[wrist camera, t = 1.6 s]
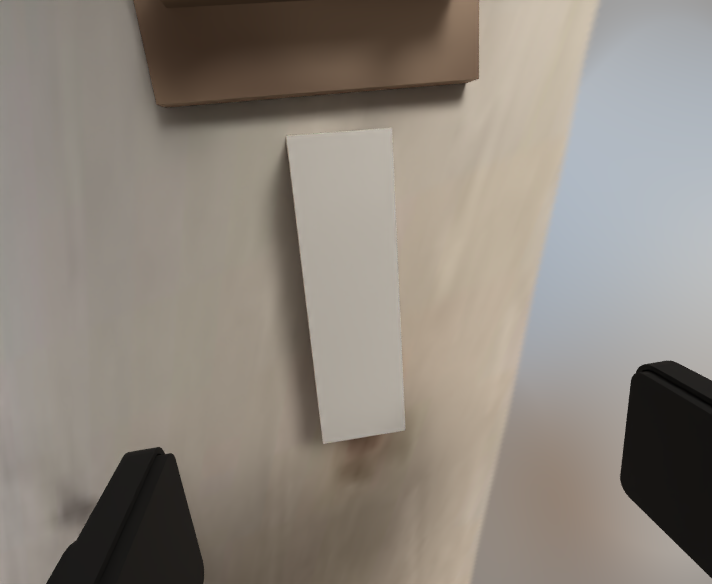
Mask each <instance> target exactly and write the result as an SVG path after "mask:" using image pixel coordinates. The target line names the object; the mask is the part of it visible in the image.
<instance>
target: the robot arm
mask: <svg viewBox="0 0 712 584" xmlns="http://www.w3.org/2000/svg"><path fill="white" fill-rule="evenodd" d="M620 475H621V476H620V480H621V484H622V487H623V489H624V491H625V493H626V494H627V495H628V496H629V498H630V499H632V501H634V502H635V503H636V504H637V505H638V506H639V507H640V508H641V509H642V510H643V511H644V512H645V513H646V514H647V515H648V516H649V517H650V518H651V519H652V520H653V521H654V522H655V523H656V524H657V525H658V526H659V527H660V528H661V529H662V530H663V531H664V532H665V533H666V534H667V535H668V536H669V537H670V538H671V539H672V540H673V541H674V542H675V543H676V544H677V545H678V546H679V547H680V548H681V549H682V550H683V551H684V552H686V553H687V554H688V556H690V557H691V558H692V559H693V560H694V561H695V562H696V563H697V564H698V565H699V566H700V567H701V568H702V569H703V570H704V571H705V572H706V573H707V574H708V575H709V576H710V577H711V578H712V381H711V380H709V379H708V378H706V377H703V376H702V375H700V374H698V373H696V372H694V371H692V370H690V369H688V368H686V367H684V366H682V365H680V364H678V363H676V362H674V361H662V362H656V363H651V364H644V365H642V366H640V367H639V368H638V369H637V371H636V374H634V375H633V377H632V379H631V386H630V395H629V403H628V413H627V421H626V431H625V439H624V448H623V457H622V466H621V474H620ZM203 582H204V566H203V560H202V557H201V553H200V549H199V545H198V542H197V538H196V534H195V530H194V527H193V523H192V519H191V515H190V512H189V508H188V504H187V500H186V497H185V493H184V489H183V485H182V482H181V478H180V474H179V470H178V467H177V463H176V459H175V457H174V455H173V454H172V453H169V454H165V453H164V451H163V450H162V448H160V447H157V448H151V449H145V450H139V451H133V452H128V453H126V454H125V455H124V456H123V458H122V460H121V461H120V463H119V465H118V467H117V469H116V470H115V472H114V474H113V476H112V478H111V479H110V481H109V483H108V485H107V487H106V488H105V490H104V492H103V494H102V496H101V497H100V499H99V501H98V503H97V505H96V506H95V508H94V510H93V512H92V514H91V515H90V517H89V519H88V521H87V523H86V524H85V526H84V528H83V530H82V532H81V533H80V535H79V537H78V539H77V541H75V542H74V543H72V544H71V545H69V547H68V548H67V550H66V551H65V552H64V554H63V555H62V557H61V559H60V561H59V562H58V564H57V566H56V568H55V569H54V571H53V573H52V575H51V576H50V578H49V580H48V582H47V583H46V584H203Z"/></svg>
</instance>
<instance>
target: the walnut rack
mask: <svg viewBox="0 0 712 584" xmlns="http://www.w3.org/2000/svg"><path fill="white" fill-rule="evenodd" d="M133 1H134V5H135V10H136V14H137V19H138V23H139V28H140V32H141V37H142V41H143V46H144V50H145V55H146V59H147V64H148V68H149V73H150V77H151V82H152V86H153V91H154V95H155V100H156V104H157V105H159V106H162V107H165V108H167V107H179V106H192V105H204V104H216V103H228V102H241V101H253V100H265V99H277V98H290V97H302V96H314V95H326V94H339V93H351V92H363V91H375V90H388V89H400V88H412V87H424V86H437V85H449V84H461V83H468V82H471V81H473V80H476V79H479V0H133Z"/></svg>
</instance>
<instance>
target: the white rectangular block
mask: <svg viewBox="0 0 712 584" xmlns="http://www.w3.org/2000/svg"><path fill="white" fill-rule="evenodd" d="M286 144H287V152H288V160H289V169H290V177H291V185H292V194H293V202H294V210H295V219H296V227H297V235H298V244H299V252H300V260H301V269H302V277H303V285H304V294H305V302H306V310H307V319H308V327H309V335H310V344H311V352H312V360H313V369H314V377H315V386H316V394H317V402H318V409H319V417H320V424H321V432H322V439H323V444H326V443H332V442H338V441H344V440H350V439H356V438H362V437H368V436H374V435H380V434H386V433H392V432H398V431H404V430H405V410H404V387H403V364H402V341H401V319H400V296H399V273H398V250H397V227H396V204H395V182H394V159H393V136H392V128H380V129H367V130H353V131H340V132H327V133H313V134H300V135H286Z"/></svg>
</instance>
